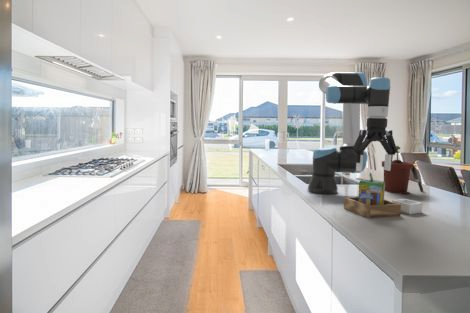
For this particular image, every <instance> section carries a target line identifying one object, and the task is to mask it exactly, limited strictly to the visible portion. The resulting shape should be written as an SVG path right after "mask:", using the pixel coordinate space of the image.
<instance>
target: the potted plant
mask: <svg viewBox="0 0 470 313" xmlns="http://www.w3.org/2000/svg"><path fill="white" fill-rule="evenodd" d="M396 148H397V151H398V152H397V153H396V159H394V160H392V162H391V169H390V171H387V170H384V169H383V181H385V191H384V192H388V193H395V194H401V195H404V196H406V195H410V194H411V192H409V191H408V189H409V182H410V174H412V177H413V179H414V180H415V181H416V182H417V185H418V188H419V191H420V192H423V191H424V187H423V186H422V182H421V181H420V179H421V177H420V173H419V171H418V169H417V167H416V166H415V163H413V162H409V161H402V160H401V159H399V153H400V151H399V150H401V147H400V146H399V145H396ZM384 163H385V160H382V161H381V167H382V168H384Z"/></svg>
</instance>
